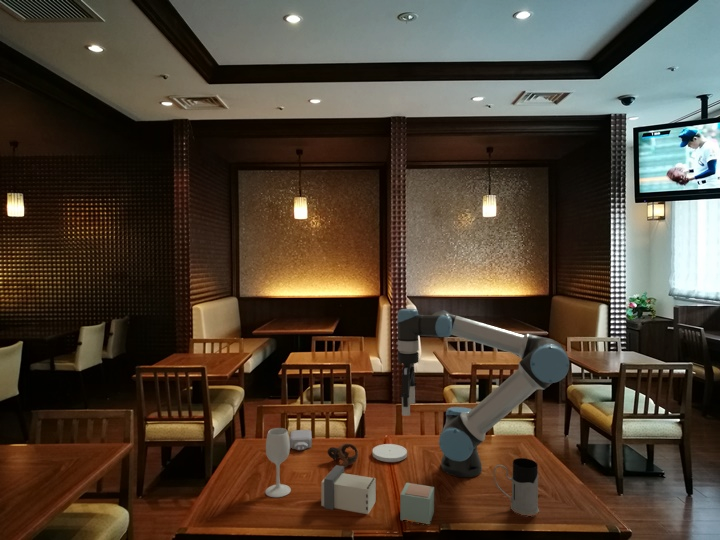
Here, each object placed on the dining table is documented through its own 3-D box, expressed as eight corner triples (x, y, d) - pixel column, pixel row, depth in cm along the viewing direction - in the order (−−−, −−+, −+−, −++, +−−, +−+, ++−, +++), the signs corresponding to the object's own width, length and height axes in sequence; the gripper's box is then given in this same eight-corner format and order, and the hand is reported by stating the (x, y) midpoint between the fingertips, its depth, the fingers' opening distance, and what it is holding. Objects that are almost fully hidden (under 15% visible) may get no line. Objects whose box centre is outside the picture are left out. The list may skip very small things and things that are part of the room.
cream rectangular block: (376, 500, 157) (376, 471, 157) (367, 516, 147) (367, 485, 147) (332, 492, 162) (332, 464, 162) (319, 507, 152) (319, 478, 152)
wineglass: (269, 500, 157) (269, 438, 156) (262, 488, 165) (261, 429, 164) (294, 494, 161) (293, 433, 161) (286, 483, 169) (285, 425, 168)
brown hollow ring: (354, 456, 192) (360, 443, 188) (353, 476, 184) (359, 463, 180) (326, 450, 191) (330, 436, 187) (323, 470, 183) (328, 456, 179)
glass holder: (541, 517, 147) (542, 470, 146) (494, 513, 149) (495, 466, 149) (536, 503, 155) (536, 458, 155) (491, 499, 158) (492, 455, 157)
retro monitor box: (433, 511, 150) (434, 486, 149) (429, 525, 142) (429, 498, 142) (406, 506, 153) (406, 482, 152) (400, 520, 145) (400, 493, 145)
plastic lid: (410, 463, 186) (410, 456, 186) (376, 465, 184) (376, 459, 184) (402, 448, 200) (402, 443, 199) (369, 451, 197) (369, 445, 197)
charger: (289, 455, 193) (290, 441, 208) (312, 454, 194) (311, 440, 209) (289, 444, 193) (290, 430, 207) (312, 443, 194) (311, 429, 209)
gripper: (403, 344, 185) (403, 398, 186) (391, 358, 161) (392, 420, 161) (422, 345, 183) (422, 399, 184) (413, 359, 159) (414, 421, 160)
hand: (408, 409), depth 173 cm, fingers open, 13 cm apart
